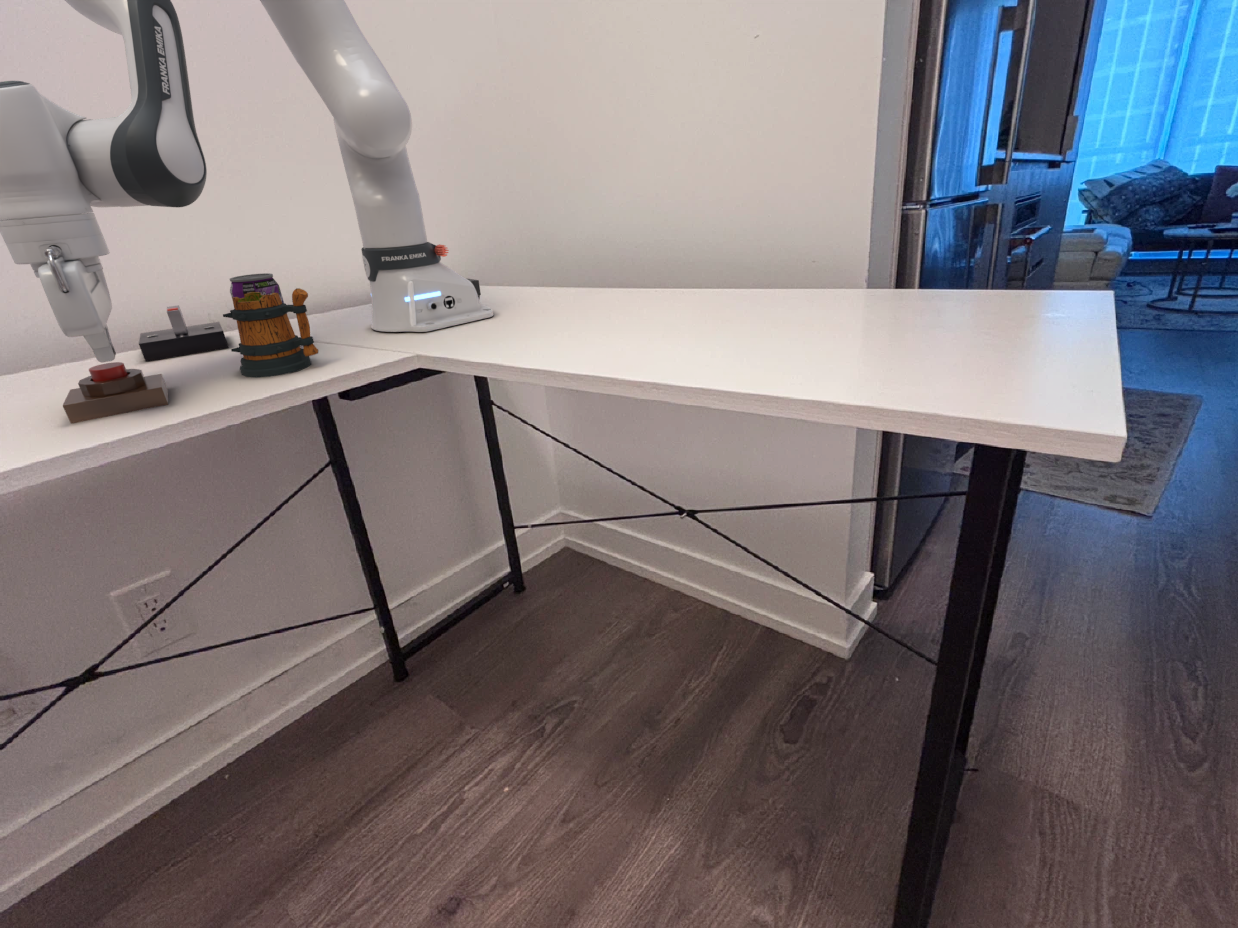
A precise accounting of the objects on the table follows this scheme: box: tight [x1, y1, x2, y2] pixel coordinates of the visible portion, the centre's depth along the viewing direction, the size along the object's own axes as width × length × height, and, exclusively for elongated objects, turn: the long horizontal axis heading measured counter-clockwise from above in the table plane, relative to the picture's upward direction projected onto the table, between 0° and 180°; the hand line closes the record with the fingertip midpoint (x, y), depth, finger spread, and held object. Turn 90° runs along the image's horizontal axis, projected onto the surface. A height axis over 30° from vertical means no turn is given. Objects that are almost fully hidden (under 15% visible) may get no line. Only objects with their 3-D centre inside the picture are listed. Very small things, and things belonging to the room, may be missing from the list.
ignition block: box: [62, 368, 169, 424], centre depth 80 cm, size 10×8×4 cm
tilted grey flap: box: [166, 305, 188, 335], centre depth 106 cm, size 6×2×4 cm, turn 33°
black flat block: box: [138, 321, 230, 363], centre depth 107 cm, size 12×10×3 cm
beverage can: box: [229, 272, 289, 317], centre depth 101 cm, size 7×7×12 cm
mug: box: [222, 287, 319, 379], centre depth 91 cm, size 13×10×12 cm
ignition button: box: [88, 361, 128, 382], centre depth 79 cm, size 4×4×2 cm
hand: (108, 359), depth 78 cm, fingers closed
